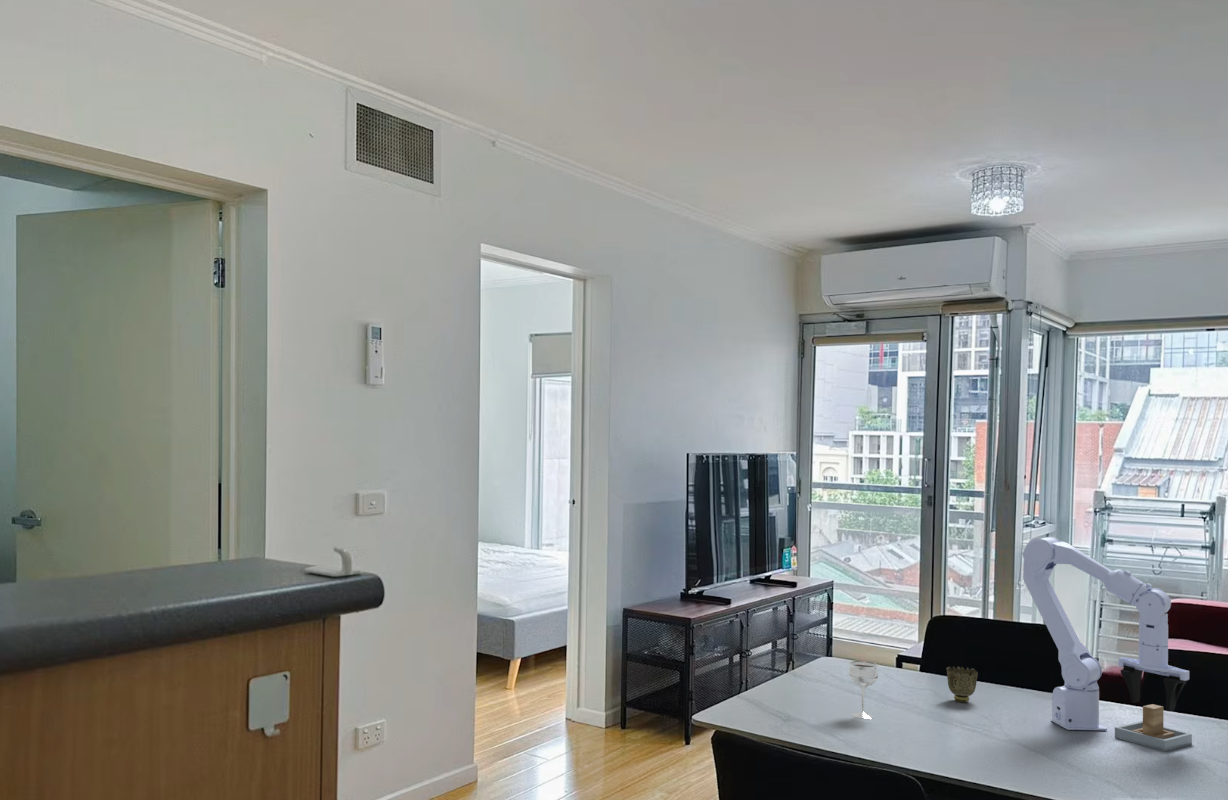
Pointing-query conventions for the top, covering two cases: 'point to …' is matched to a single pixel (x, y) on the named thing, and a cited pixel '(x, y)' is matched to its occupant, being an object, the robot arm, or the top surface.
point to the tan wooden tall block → (1153, 719)
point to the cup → (961, 682)
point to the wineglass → (863, 680)
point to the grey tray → (1153, 737)
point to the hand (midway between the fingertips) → (1152, 706)
